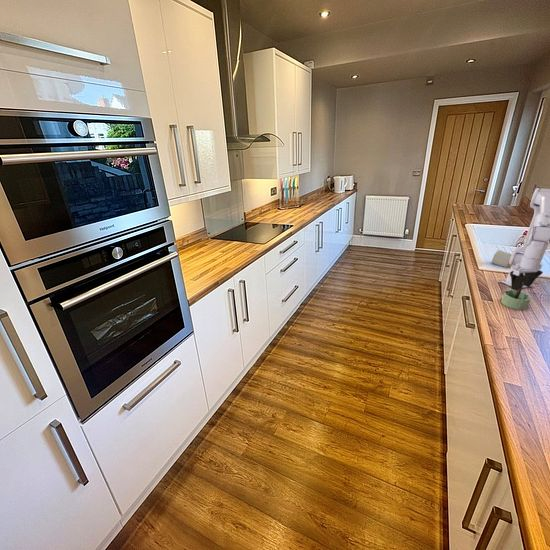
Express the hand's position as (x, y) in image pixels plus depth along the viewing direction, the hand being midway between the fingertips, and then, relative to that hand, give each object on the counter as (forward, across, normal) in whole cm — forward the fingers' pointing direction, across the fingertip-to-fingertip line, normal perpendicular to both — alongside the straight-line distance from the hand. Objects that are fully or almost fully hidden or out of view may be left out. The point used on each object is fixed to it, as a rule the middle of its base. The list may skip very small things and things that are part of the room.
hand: (520, 287), depth 118 cm
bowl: (+8, 0, 0) cm, 8 cm away
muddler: (+7, 0, 0) cm, 7 cm away
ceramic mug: (+8, -37, -28) cm, 47 cm away
